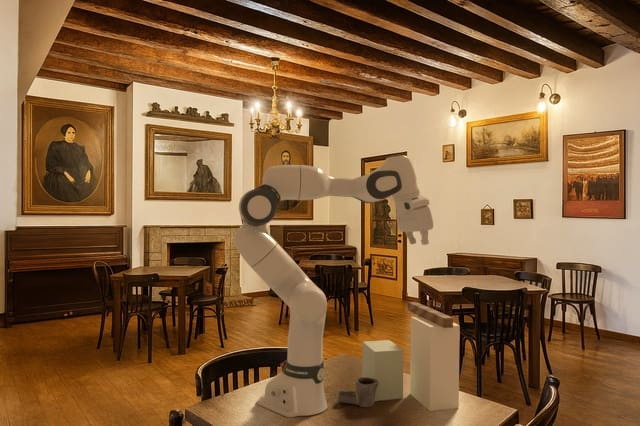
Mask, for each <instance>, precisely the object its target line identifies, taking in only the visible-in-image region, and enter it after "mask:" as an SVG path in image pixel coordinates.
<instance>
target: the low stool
mask: <svg viewBox="0 0 640 426" xmlns="http://www.w3.org/2000/svg"><path fill="white" fill-rule="evenodd" d="M361 351H362V354H361V355H362V356H361V359H362V361H361V362H362V363H361V365H362V366H361V367H362V368H361V378H362V377H368V378H373V379H376V380H377V381H378V382H379V384H378V386H377V389H376V393H375V402H380V400H381V401H390V400H401V399H403V398H404V349H403V348H402V347H400V346H399V345H398V344H396V343H394V342H393V341H391V340H390V339H384V340H383V339H382V340H369V341H368V340H367V341H366V340H365V341H362V350H361Z"/></svg>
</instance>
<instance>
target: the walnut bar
mask: <svg viewBox="0 0 640 426" xmlns="http://www.w3.org/2000/svg"><path fill="white" fill-rule="evenodd" d="M407 311H408V312H410V313H413V314H414V315H415V316H416V315H417V317H422V318H425V319H427V320H429V321H431V322H433V323H435V324H437V325H439V326H441V327H443V328H453V323H454V317H452V316H450V315H448V314H445V313H443V312H440V311H438V310H436V309H434V308H431V307H429V306H426V305H425V304H421V303H420V302H417V301H408V302H407Z"/></svg>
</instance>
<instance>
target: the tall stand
mask: <svg viewBox="0 0 640 426" xmlns="http://www.w3.org/2000/svg"><path fill="white" fill-rule="evenodd" d="M460 326H461V325H459V324H457V323H456V322H453V328H443V327H441V326H439V325H437V324H435V323H433V322H431V321H429V320H427V319H425V318H422V317H420V316H410V353H409V354H410V357H409V359H410V362H409V363H410V366H409V367H410V369H409V371H410V372H409V373H410V374H409V377H410V378H409V394H410V395H411V396H412V397H413V398H414V399H416V400H417V401H418V402H419V403H420V404H421V405H422V406H423V407H424V408H426V409H427V410H428V411H429V412H433V411H434V412H435V411H443V410H455V409H459V407H460V405H459V404H460V401H459V399H460V336H461V335H460V330H461V329H460V328H461V327H460Z"/></svg>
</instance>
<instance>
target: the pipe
mask: <svg viewBox="0 0 640 426" xmlns="http://www.w3.org/2000/svg"><path fill="white" fill-rule="evenodd" d="M378 384H379V382H378V381H377V380H376V379H373V378H368V377H362V376H361V377H359V378H357V379H356V380H355V386H356V388H355V390H356V391H351V390H345V389H339V390H338V395H337V402H338V403H342V404H346V405H347V404H349V405H357V406H360V407H361V408H371V407H373V406H375V403H376V401H375V393H376V389H377V386H378Z"/></svg>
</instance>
